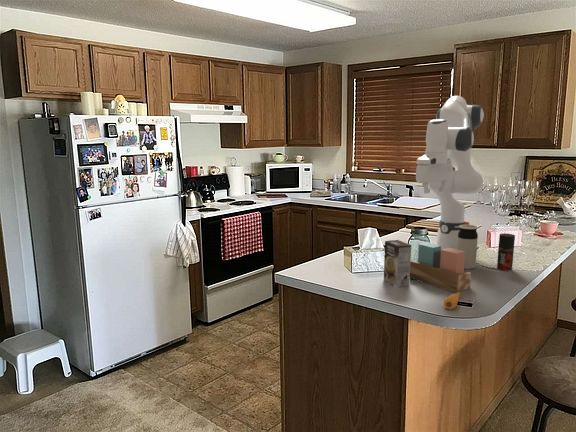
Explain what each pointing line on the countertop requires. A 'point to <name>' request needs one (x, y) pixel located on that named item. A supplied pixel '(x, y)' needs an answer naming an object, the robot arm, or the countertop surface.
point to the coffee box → (397, 262)
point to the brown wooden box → (439, 277)
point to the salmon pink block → (452, 260)
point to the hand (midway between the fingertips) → (434, 192)
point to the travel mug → (468, 244)
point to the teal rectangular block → (429, 254)
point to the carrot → (451, 301)
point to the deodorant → (505, 252)
